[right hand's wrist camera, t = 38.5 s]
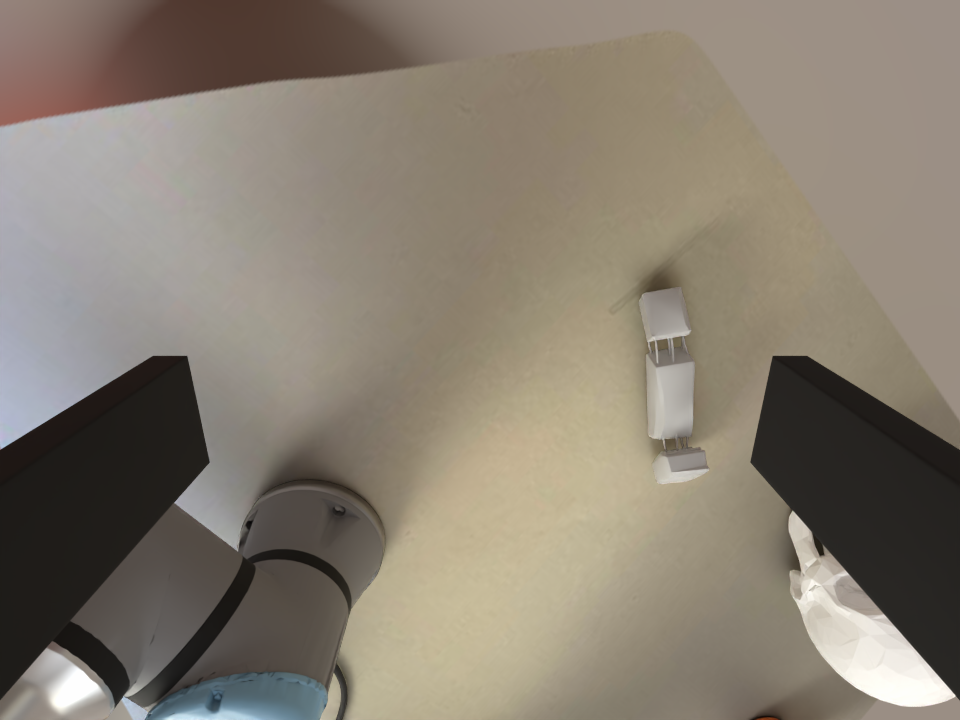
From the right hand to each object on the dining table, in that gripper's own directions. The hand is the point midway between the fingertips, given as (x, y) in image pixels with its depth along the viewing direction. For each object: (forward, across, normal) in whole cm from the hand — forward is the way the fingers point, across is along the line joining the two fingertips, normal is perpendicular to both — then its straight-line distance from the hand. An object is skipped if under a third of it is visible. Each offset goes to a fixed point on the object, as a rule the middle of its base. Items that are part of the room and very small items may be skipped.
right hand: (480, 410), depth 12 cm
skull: (+37, -39, +35) cm, 64 cm away
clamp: (+37, -18, +16) cm, 44 cm away
